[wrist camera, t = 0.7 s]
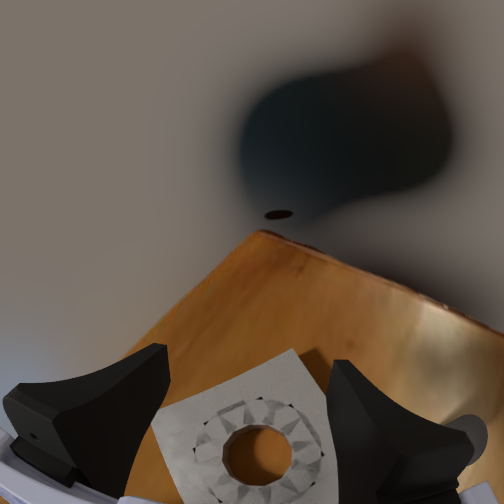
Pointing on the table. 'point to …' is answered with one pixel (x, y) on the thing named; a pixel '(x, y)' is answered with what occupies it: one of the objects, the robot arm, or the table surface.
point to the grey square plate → (243, 420)
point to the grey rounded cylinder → (472, 433)
